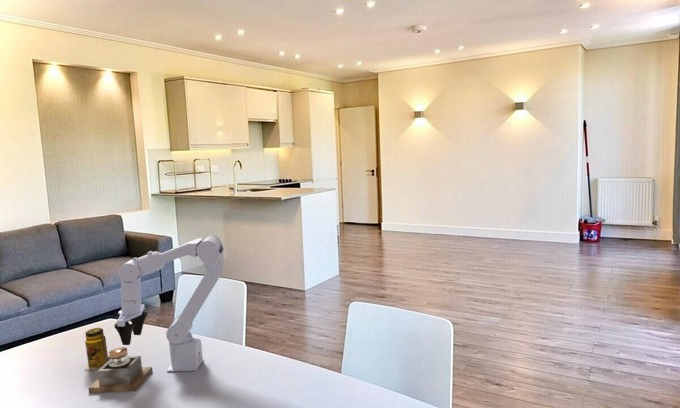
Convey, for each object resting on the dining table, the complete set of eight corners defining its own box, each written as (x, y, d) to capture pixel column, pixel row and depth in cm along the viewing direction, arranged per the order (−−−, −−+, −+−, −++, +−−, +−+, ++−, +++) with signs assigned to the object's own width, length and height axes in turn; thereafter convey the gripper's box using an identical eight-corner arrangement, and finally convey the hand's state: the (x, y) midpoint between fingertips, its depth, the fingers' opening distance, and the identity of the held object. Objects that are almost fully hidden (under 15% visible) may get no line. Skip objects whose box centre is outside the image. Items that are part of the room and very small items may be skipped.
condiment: (85, 371, 155) (80, 336, 153) (90, 360, 163) (85, 326, 161) (109, 366, 157) (105, 332, 155) (113, 356, 165) (109, 323, 163)
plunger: (133, 357, 148) (132, 346, 148) (124, 366, 143) (123, 355, 142) (114, 358, 149) (113, 346, 148) (104, 367, 143) (103, 355, 142)
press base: (152, 371, 152) (150, 353, 151) (135, 391, 140) (133, 372, 139) (109, 372, 153) (107, 355, 152) (88, 392, 141) (86, 373, 140)
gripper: (129, 290, 157) (130, 330, 159) (107, 305, 143) (107, 348, 145) (150, 291, 157) (151, 331, 159) (130, 306, 143) (130, 349, 145)
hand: (131, 339), depth 152 cm, fingers open, 7 cm apart
